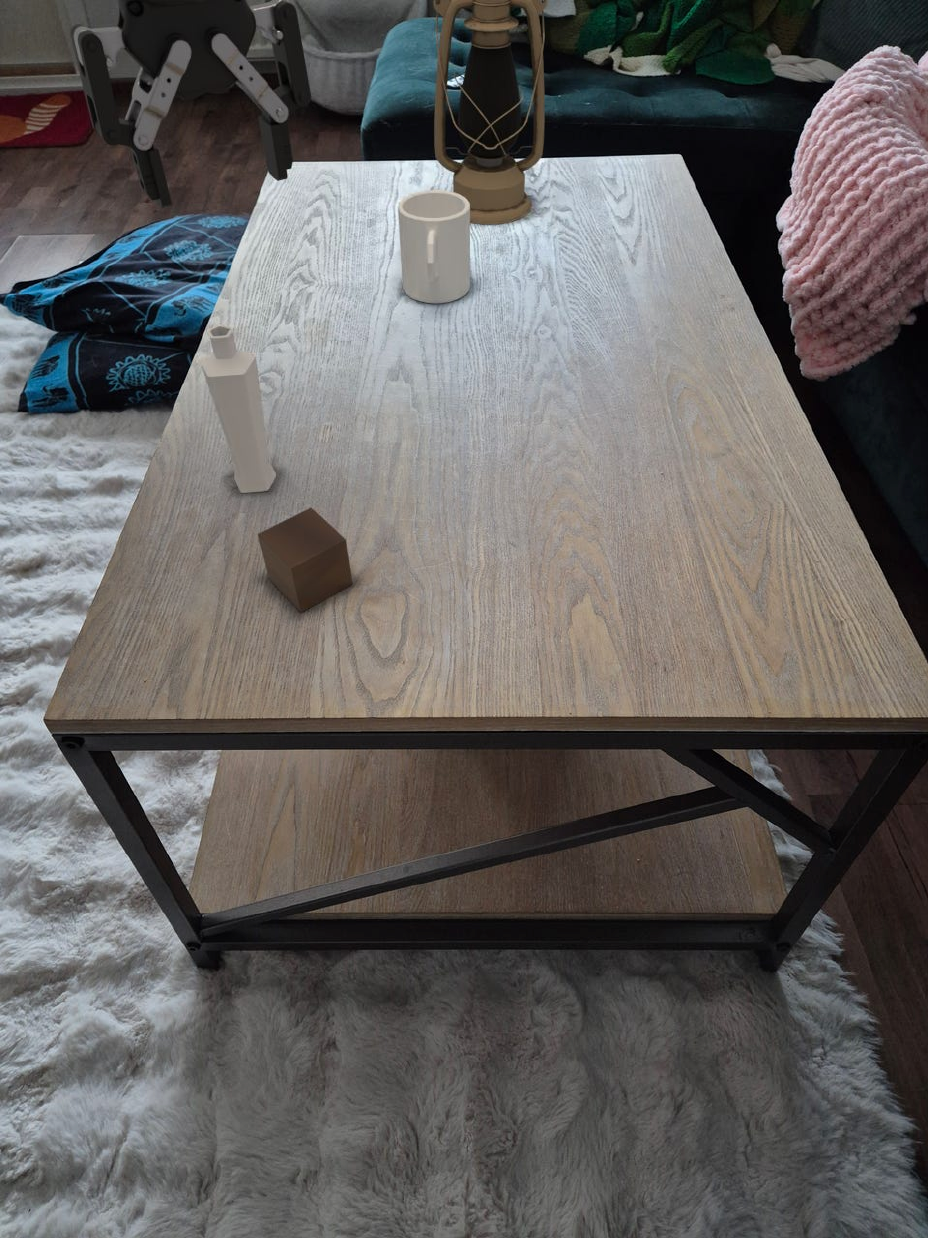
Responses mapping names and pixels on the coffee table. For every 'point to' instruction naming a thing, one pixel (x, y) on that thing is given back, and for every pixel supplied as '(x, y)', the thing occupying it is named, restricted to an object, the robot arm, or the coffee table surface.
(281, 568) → the walnut block
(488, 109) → the lantern
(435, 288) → the mug
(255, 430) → the perfume bottle
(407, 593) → the coffee table surface
